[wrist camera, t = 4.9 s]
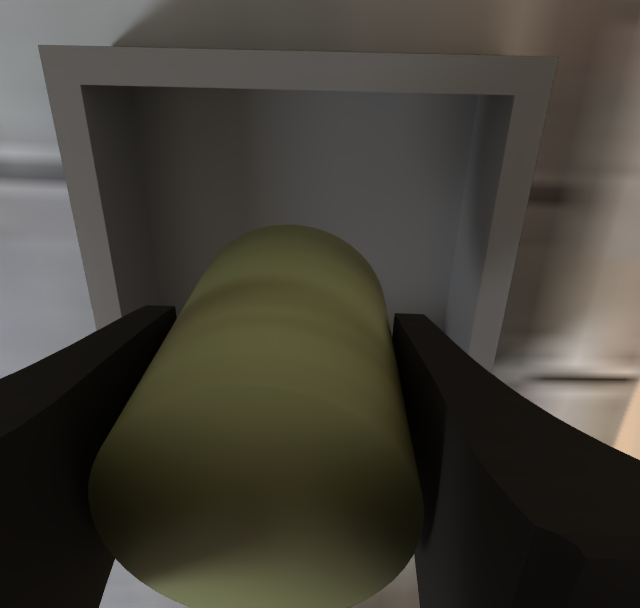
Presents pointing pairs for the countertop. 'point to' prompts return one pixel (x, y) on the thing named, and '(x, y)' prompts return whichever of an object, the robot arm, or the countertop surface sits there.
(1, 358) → the countertop surface
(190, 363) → the green cylinder
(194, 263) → the bin
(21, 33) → the countertop surface
